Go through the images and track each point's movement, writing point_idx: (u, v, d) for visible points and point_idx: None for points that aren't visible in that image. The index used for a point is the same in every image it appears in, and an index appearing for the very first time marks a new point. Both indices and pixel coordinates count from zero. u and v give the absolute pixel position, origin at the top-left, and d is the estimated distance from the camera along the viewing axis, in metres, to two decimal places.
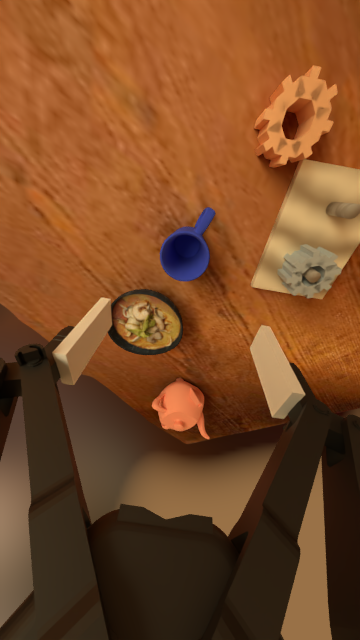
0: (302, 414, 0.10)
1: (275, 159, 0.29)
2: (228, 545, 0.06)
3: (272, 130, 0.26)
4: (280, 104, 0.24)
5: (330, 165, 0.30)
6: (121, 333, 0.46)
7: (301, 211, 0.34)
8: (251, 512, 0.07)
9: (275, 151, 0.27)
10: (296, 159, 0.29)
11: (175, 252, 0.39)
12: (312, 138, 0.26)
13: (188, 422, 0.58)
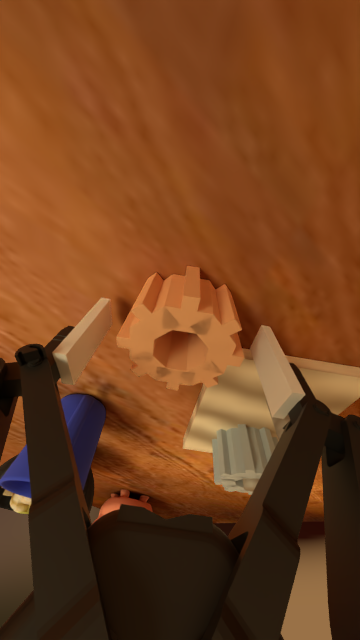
0: (302, 414, 0.10)
1: None
2: (228, 545, 0.06)
3: (139, 358, 0.14)
4: (140, 334, 0.13)
5: None
6: None
7: (230, 399, 0.22)
8: (251, 512, 0.07)
9: (154, 377, 0.15)
10: None
11: None
12: (212, 371, 0.14)
13: None
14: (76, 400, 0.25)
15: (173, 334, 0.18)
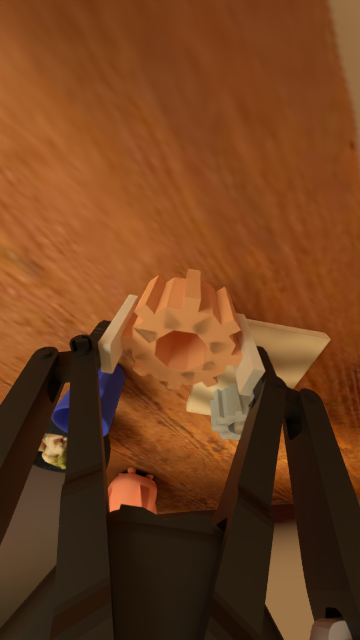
0: (262, 391, 0.11)
1: None
2: (210, 537, 0.06)
3: (141, 358, 0.15)
4: (143, 334, 0.13)
5: None
6: None
7: None
8: (228, 496, 0.07)
9: (156, 377, 0.16)
10: None
11: None
12: (212, 370, 0.15)
13: None
14: None
15: (174, 335, 0.18)
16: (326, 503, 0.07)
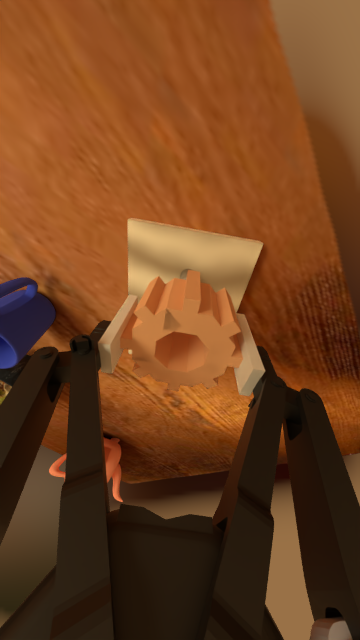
0: (263, 391, 0.11)
1: None
2: (210, 537, 0.06)
3: (141, 359, 0.15)
4: (142, 335, 0.13)
5: (165, 227, 0.22)
6: None
7: (151, 278, 0.26)
8: (228, 496, 0.07)
9: (156, 378, 0.16)
10: None
11: None
12: (212, 372, 0.15)
13: None
14: (24, 291, 0.29)
15: (174, 336, 0.18)
16: (325, 503, 0.07)
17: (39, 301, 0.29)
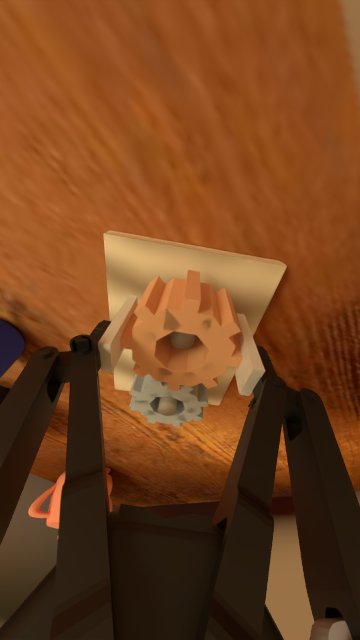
0: (263, 391, 0.11)
1: None
2: (210, 537, 0.06)
3: (141, 359, 0.15)
4: (142, 335, 0.13)
5: (154, 244, 0.16)
6: None
7: None
8: (228, 496, 0.07)
9: (156, 378, 0.16)
10: None
11: None
12: (212, 371, 0.15)
13: None
14: None
15: None
16: (326, 503, 0.07)
17: None
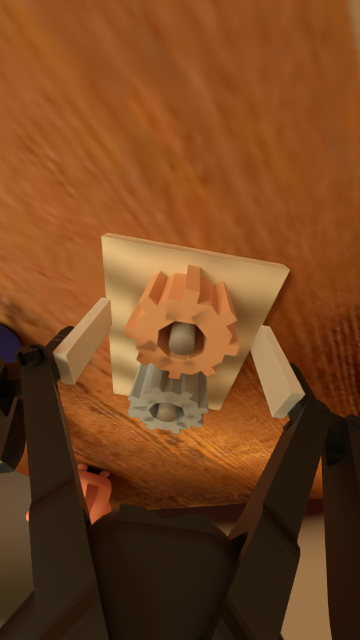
0: (302, 414, 0.10)
1: None
2: (228, 545, 0.06)
3: (144, 348, 0.16)
4: (146, 325, 0.14)
5: (153, 247, 0.16)
6: None
7: None
8: (251, 512, 0.07)
9: (158, 367, 0.17)
10: None
11: None
12: (211, 360, 0.16)
13: None
14: None
15: None
16: None
17: None
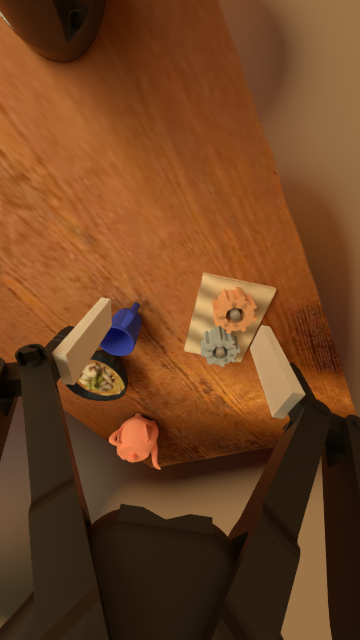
0: (302, 414, 0.10)
1: None
2: (228, 545, 0.06)
3: (219, 318, 0.40)
4: (223, 309, 0.39)
5: (223, 279, 0.41)
6: (79, 382, 0.56)
7: (209, 305, 0.44)
8: (251, 512, 0.07)
9: (222, 327, 0.41)
10: None
11: None
12: (245, 324, 0.40)
13: (140, 455, 0.66)
14: (128, 309, 0.47)
15: (226, 313, 0.44)
16: None
17: (137, 315, 0.47)
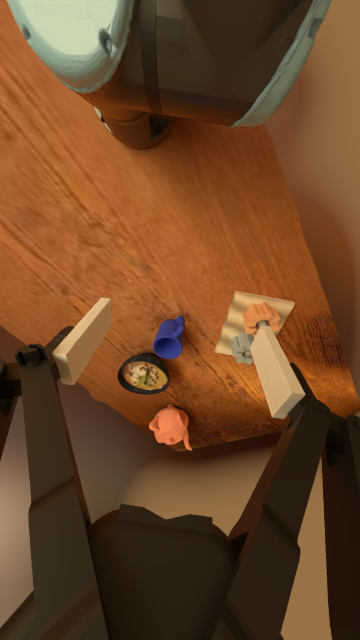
0: (302, 414, 0.10)
1: None
2: (228, 545, 0.06)
3: (250, 328, 0.51)
4: (253, 321, 0.49)
5: (252, 296, 0.51)
6: (127, 380, 0.67)
7: (240, 316, 0.55)
8: (251, 512, 0.07)
9: (252, 334, 0.52)
10: None
11: None
12: None
13: (175, 438, 0.79)
14: (172, 320, 0.57)
15: None
16: None
17: None
